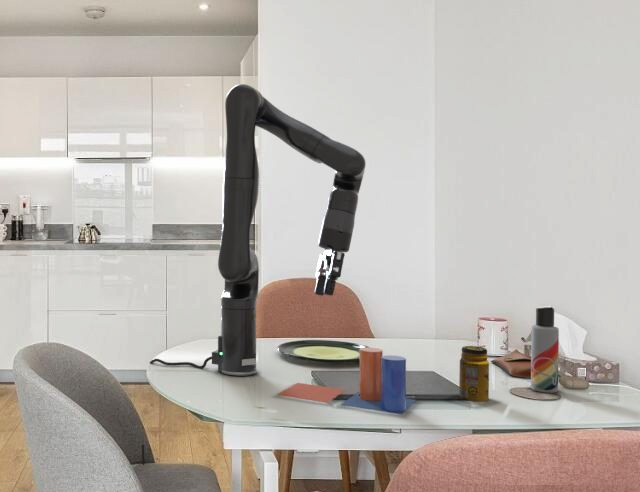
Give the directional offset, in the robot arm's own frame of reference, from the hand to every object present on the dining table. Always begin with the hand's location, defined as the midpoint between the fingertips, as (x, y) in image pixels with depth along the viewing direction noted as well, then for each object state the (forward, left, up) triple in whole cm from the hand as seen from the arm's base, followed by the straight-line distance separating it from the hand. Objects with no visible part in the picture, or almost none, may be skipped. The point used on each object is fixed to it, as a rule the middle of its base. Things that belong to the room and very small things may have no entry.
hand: (323, 294), depth 174 cm
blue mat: (+16, -9, -22) cm, 29 cm away
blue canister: (+20, -12, -22) cm, 32 cm away
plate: (-11, +33, -23) cm, 41 cm away
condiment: (+32, +6, -23) cm, 40 cm away
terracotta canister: (+13, -6, -22) cm, 26 cm away
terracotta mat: (0, -9, -22) cm, 24 cm away
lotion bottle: (+45, +26, -23) cm, 57 cm away
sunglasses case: (+37, +45, -23) cm, 63 cm away
